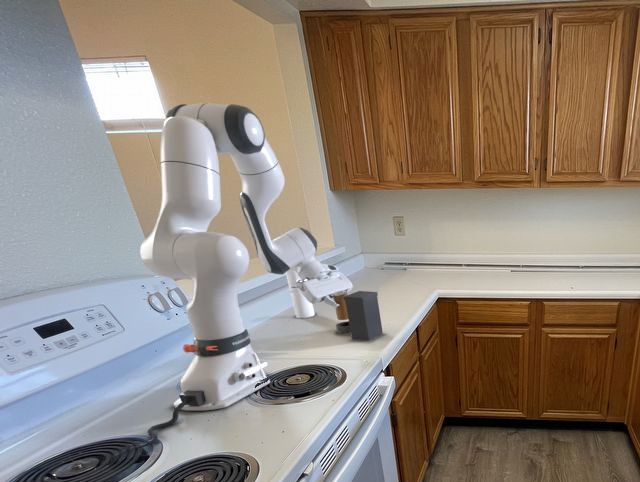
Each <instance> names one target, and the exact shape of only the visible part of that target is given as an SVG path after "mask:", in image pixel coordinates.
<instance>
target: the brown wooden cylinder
mask: <svg viewBox="0 0 640 482" xmlns="http://www.w3.org/2000/svg"><path fill="white" fill-rule="evenodd" d="M347 294H348V295H349V293H348V292H337V293H334V294H332V295H333V298H332V299H333V301H335V302H336V301H337V302H338V303H339V304H340V306H339V307H338V308H336V309H335V313H336V318H337V320H338V321H347V320H349V319H348V314H347V309H346V303H345V300H344V296H347Z"/></svg>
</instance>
